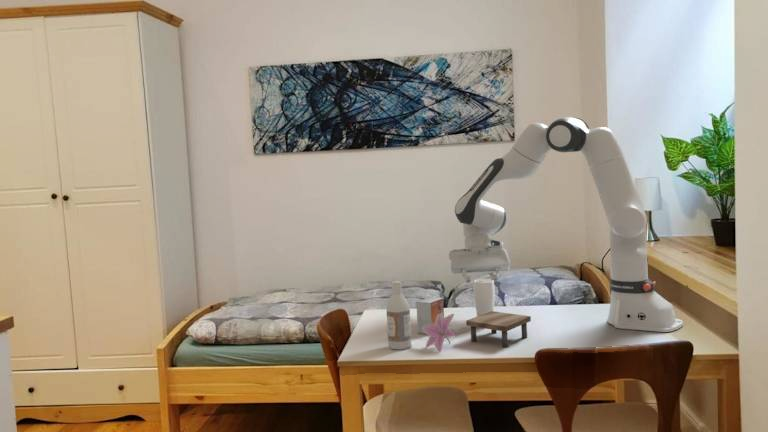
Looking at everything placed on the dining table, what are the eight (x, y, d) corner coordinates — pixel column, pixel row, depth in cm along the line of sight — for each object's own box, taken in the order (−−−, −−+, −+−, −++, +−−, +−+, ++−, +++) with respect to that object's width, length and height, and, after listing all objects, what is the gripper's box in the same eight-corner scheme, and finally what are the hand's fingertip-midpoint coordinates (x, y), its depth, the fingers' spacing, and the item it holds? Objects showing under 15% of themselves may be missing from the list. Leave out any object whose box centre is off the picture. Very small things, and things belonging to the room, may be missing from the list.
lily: (422, 344, 207) (412, 321, 203) (456, 326, 208) (446, 303, 204) (436, 366, 197) (425, 343, 192) (471, 348, 198) (461, 324, 193)
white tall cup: (495, 327, 218) (493, 282, 217) (474, 327, 219) (472, 282, 218) (496, 322, 224) (494, 278, 223) (476, 322, 226) (474, 278, 225)
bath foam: (384, 347, 203) (380, 282, 202) (402, 342, 207) (399, 278, 206) (397, 351, 198) (393, 285, 196) (416, 346, 202) (412, 281, 200)
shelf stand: (531, 337, 205) (530, 316, 204) (506, 348, 194) (505, 326, 194) (492, 331, 214) (491, 311, 214) (467, 341, 204) (466, 320, 203)
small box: (432, 335, 214) (430, 302, 213) (417, 333, 217) (415, 301, 216) (445, 329, 220) (443, 297, 219) (431, 327, 223) (429, 296, 222)
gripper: (448, 244, 234) (451, 277, 225) (507, 241, 233) (512, 274, 224) (448, 255, 239) (451, 287, 230) (506, 252, 238) (511, 284, 229)
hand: (482, 281), depth 227 cm, fingers open, 8 cm apart
